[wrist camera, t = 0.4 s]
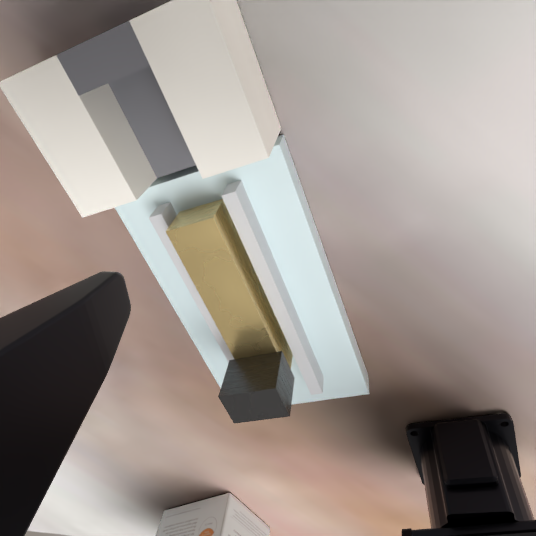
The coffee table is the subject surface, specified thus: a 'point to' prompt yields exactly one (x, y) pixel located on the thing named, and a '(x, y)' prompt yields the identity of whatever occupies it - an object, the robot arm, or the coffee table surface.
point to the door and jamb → (193, 171)
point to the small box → (212, 519)
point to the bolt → (236, 313)
